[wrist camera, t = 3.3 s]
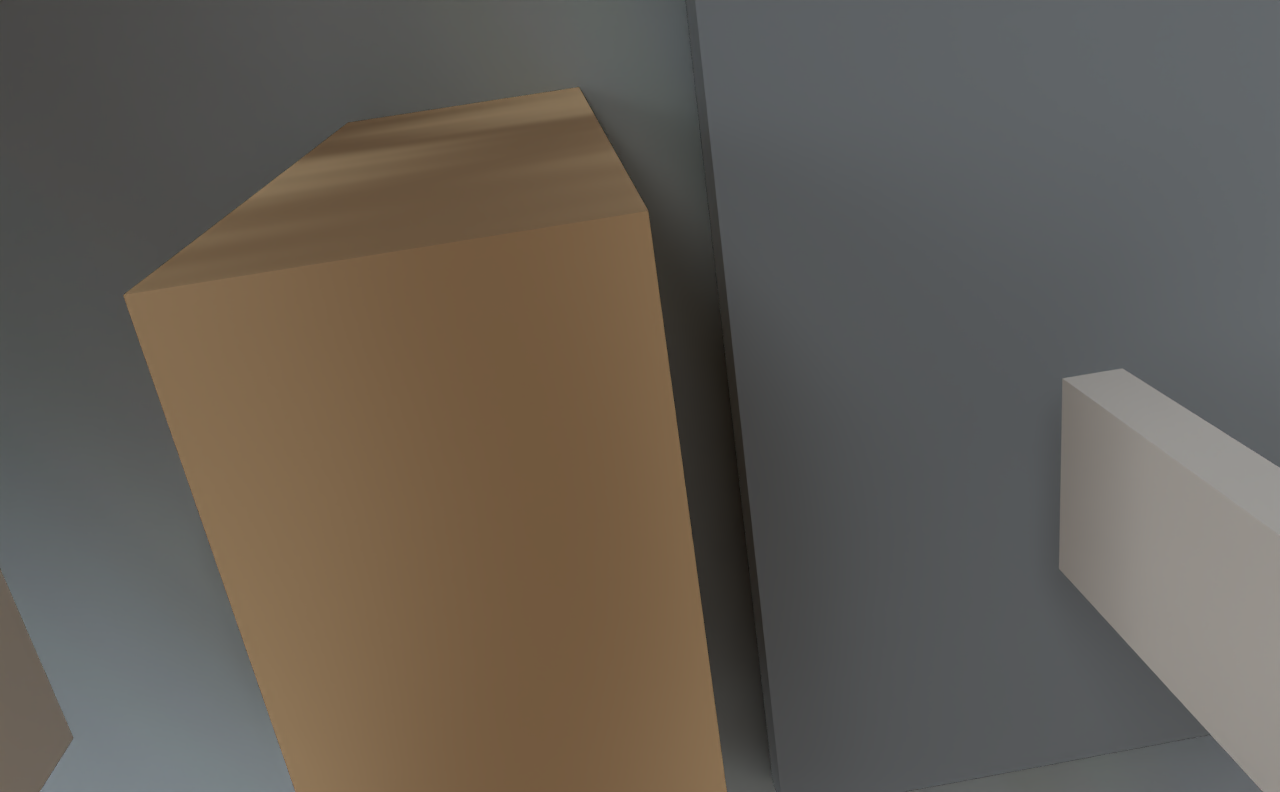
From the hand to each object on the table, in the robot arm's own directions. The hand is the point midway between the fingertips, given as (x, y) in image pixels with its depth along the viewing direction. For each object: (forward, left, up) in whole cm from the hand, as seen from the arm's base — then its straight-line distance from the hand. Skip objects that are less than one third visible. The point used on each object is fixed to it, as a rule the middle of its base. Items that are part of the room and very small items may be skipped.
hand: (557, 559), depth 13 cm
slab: (0, 0, -3) cm, 3 cm away
